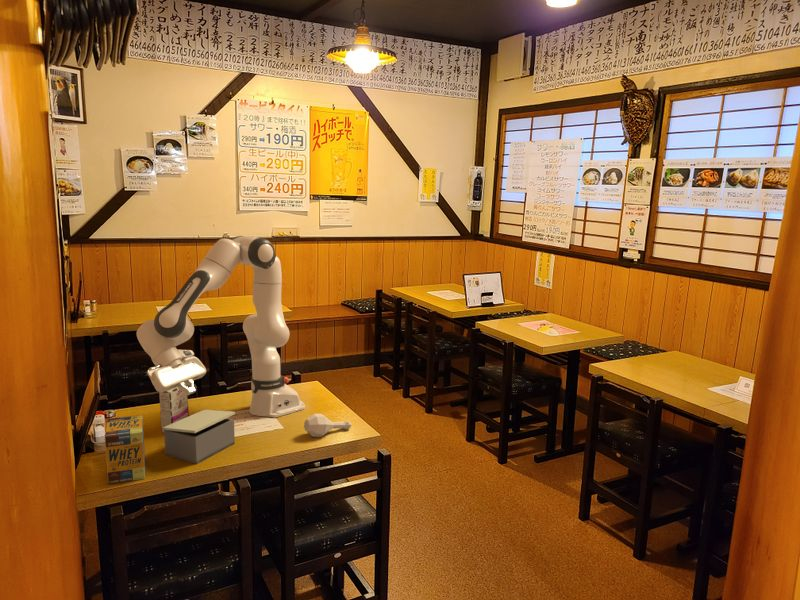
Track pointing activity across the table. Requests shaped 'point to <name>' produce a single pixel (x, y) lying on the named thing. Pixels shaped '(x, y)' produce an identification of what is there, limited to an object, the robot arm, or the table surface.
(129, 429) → the protein box
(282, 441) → the table surface
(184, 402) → the candy bar box
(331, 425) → the chicken leg
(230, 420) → the storage box
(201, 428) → the lid
